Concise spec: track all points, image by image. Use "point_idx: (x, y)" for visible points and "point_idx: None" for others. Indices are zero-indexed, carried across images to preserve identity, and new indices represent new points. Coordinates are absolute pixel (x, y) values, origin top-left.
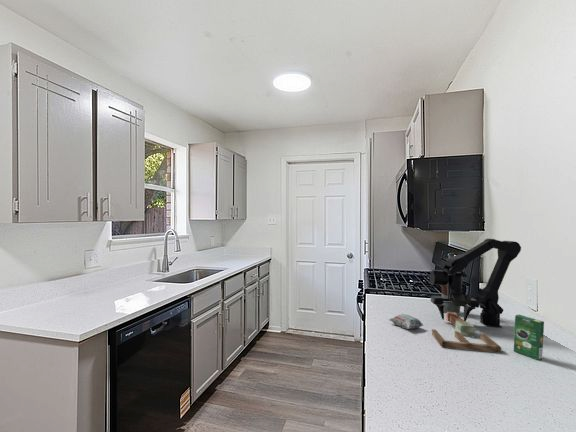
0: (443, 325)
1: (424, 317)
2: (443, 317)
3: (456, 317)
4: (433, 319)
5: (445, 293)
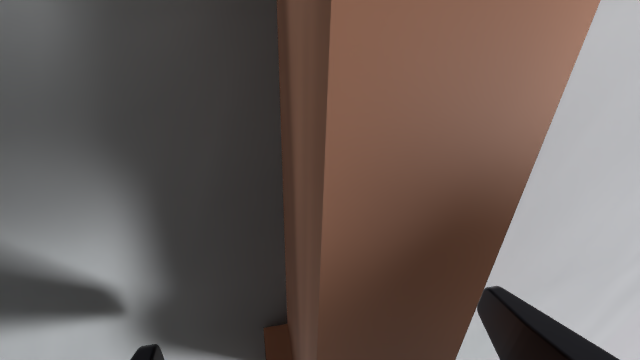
0: None
1: None
2: (521, 310)
3: (445, 259)
4: None
5: None
